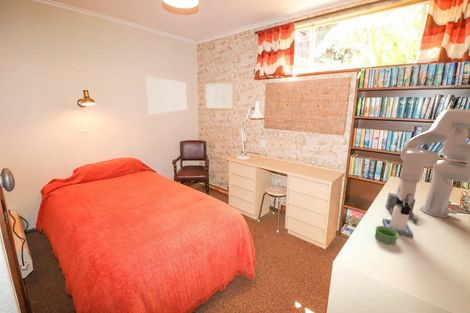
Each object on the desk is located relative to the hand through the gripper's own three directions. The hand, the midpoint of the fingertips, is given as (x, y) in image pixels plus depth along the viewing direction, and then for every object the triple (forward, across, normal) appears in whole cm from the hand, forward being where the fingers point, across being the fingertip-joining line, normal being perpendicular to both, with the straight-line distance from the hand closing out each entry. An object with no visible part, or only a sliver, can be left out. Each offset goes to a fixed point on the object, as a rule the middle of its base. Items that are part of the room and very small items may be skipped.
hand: (402, 209), depth 110 cm
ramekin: (+11, +14, -8) cm, 19 cm away
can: (+10, +1, 0) cm, 11 cm away
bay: (+11, -19, +6) cm, 23 cm away
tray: (+11, +1, 0) cm, 11 cm away
